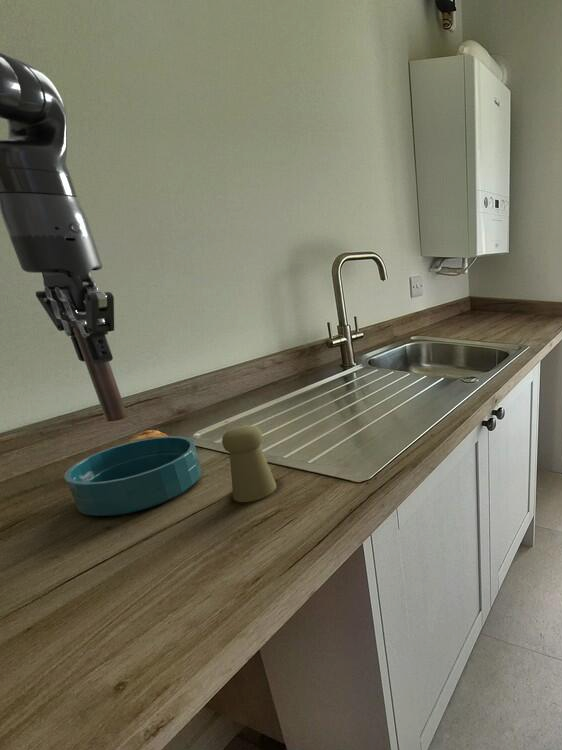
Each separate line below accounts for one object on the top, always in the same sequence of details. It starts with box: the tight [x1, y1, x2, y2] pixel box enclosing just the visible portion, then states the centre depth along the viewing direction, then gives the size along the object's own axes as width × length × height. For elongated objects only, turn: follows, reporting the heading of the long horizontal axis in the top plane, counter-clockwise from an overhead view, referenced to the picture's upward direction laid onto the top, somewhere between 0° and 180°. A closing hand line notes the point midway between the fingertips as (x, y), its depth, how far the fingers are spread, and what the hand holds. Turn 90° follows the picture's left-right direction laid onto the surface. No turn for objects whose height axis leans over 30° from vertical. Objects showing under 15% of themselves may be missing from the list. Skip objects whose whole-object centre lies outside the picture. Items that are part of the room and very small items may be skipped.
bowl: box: [63, 435, 203, 517], centre depth 65 cm, size 15×15×6 cm
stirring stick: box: [73, 327, 128, 422], centre depth 60 cm, size 2×2×14 cm
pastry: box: [128, 429, 169, 443], centre depth 76 cm, size 9×7×4 cm
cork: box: [221, 424, 277, 503], centre depth 64 cm, size 6×6×11 cm
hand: (96, 360), depth 59 cm, fingers closed on stirring stick, 2 cm apart
